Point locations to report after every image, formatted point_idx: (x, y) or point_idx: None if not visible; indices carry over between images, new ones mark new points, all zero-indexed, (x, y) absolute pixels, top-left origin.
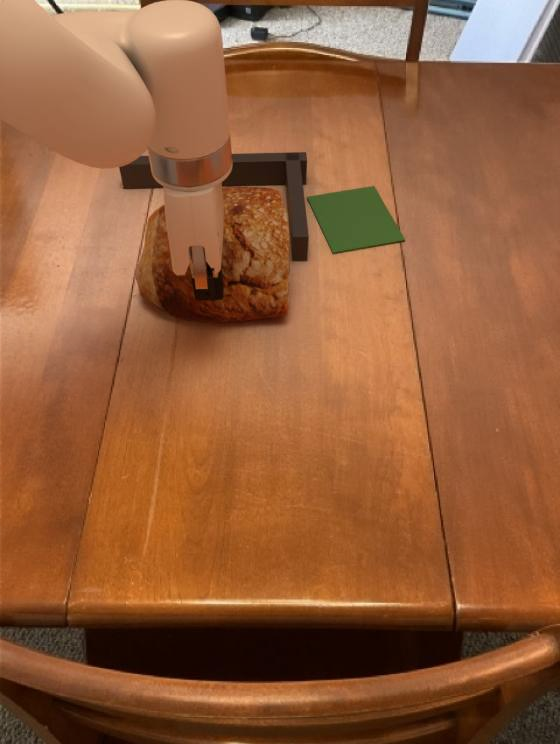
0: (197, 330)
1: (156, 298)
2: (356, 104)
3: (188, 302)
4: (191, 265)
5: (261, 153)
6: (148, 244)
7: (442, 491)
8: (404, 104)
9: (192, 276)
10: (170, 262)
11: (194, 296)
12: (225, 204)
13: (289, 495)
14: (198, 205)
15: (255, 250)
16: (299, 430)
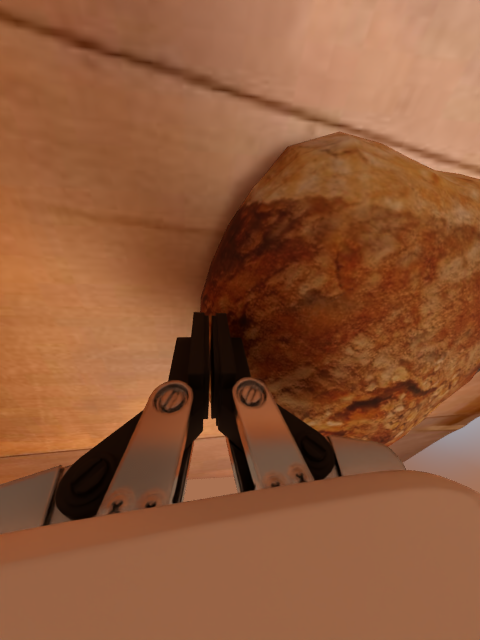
0: (198, 269)
1: (250, 198)
2: (457, 405)
3: (216, 280)
4: (111, 490)
5: (476, 372)
6: (431, 190)
7: (13, 458)
8: (429, 425)
9: (148, 402)
10: (315, 268)
11: (193, 316)
12: (415, 415)
13: None
14: None
15: None
16: (32, 382)
